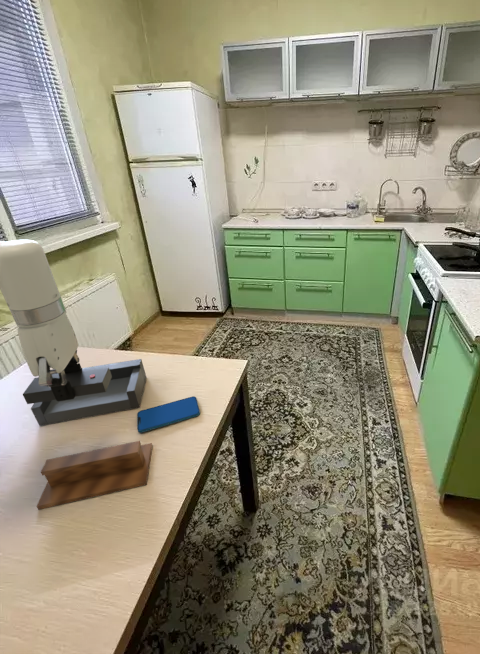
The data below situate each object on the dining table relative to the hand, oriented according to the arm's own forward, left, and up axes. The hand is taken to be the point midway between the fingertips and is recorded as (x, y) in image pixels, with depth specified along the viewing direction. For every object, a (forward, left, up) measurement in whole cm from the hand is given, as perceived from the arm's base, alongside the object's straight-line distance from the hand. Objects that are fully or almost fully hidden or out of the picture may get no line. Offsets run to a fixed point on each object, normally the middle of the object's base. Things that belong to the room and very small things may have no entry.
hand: (71, 388), depth 66 cm
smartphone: (+15, +8, -19) cm, 26 cm away
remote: (0, 0, 0) cm, 0 cm away
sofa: (-5, +20, -19) cm, 28 cm away
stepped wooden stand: (+2, -6, -19) cm, 20 cm away
